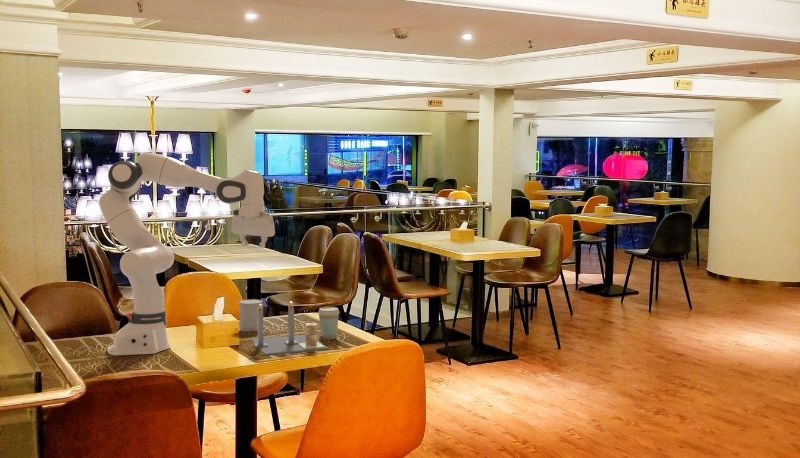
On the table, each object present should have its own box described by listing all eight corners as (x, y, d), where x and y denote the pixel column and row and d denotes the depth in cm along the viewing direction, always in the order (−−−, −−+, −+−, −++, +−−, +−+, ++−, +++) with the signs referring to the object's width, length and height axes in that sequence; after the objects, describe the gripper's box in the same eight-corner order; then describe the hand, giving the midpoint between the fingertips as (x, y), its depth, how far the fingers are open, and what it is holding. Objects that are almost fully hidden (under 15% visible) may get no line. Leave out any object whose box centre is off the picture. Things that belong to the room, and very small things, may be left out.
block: (305, 346, 314) (305, 325, 313) (306, 343, 318) (306, 323, 317) (316, 346, 314) (316, 325, 313) (317, 343, 318) (317, 323, 317)
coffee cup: (341, 336, 336) (341, 306, 335) (337, 341, 328) (337, 311, 326) (320, 335, 337) (320, 306, 336) (316, 340, 328) (316, 310, 327)
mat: (265, 355, 304) (265, 353, 304) (251, 341, 326) (251, 339, 326) (327, 349, 313) (327, 347, 313) (310, 336, 335) (310, 334, 335)
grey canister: (235, 332, 342) (235, 302, 341) (246, 327, 351) (245, 298, 350) (256, 333, 340) (256, 304, 338) (266, 328, 349) (266, 300, 347)
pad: (304, 349, 311) (304, 348, 311) (298, 344, 318) (298, 343, 318) (324, 347, 314) (324, 346, 314) (318, 342, 321) (318, 341, 321)
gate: (256, 347, 313) (255, 305, 311) (253, 345, 317) (253, 303, 315) (298, 344, 319) (298, 302, 317) (295, 341, 323) (295, 300, 321)
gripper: (278, 212, 321) (278, 247, 323) (240, 209, 333) (240, 244, 334) (266, 213, 316) (267, 249, 318) (228, 211, 328) (229, 245, 329)
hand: (253, 246), depth 326 cm, fingers open, 8 cm apart
